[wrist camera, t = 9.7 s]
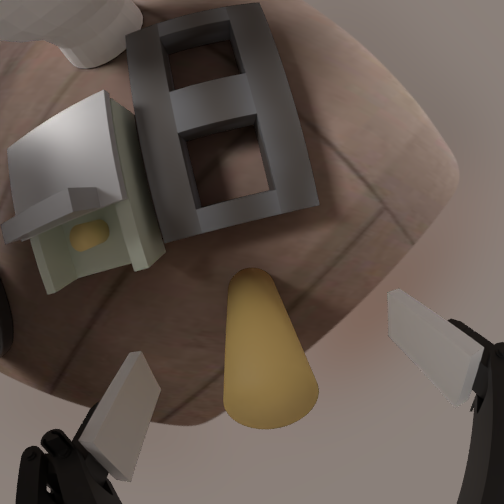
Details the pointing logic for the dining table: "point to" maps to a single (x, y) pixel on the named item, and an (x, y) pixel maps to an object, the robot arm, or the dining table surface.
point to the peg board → (216, 119)
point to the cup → (72, 26)
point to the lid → (64, 169)
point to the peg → (263, 357)
